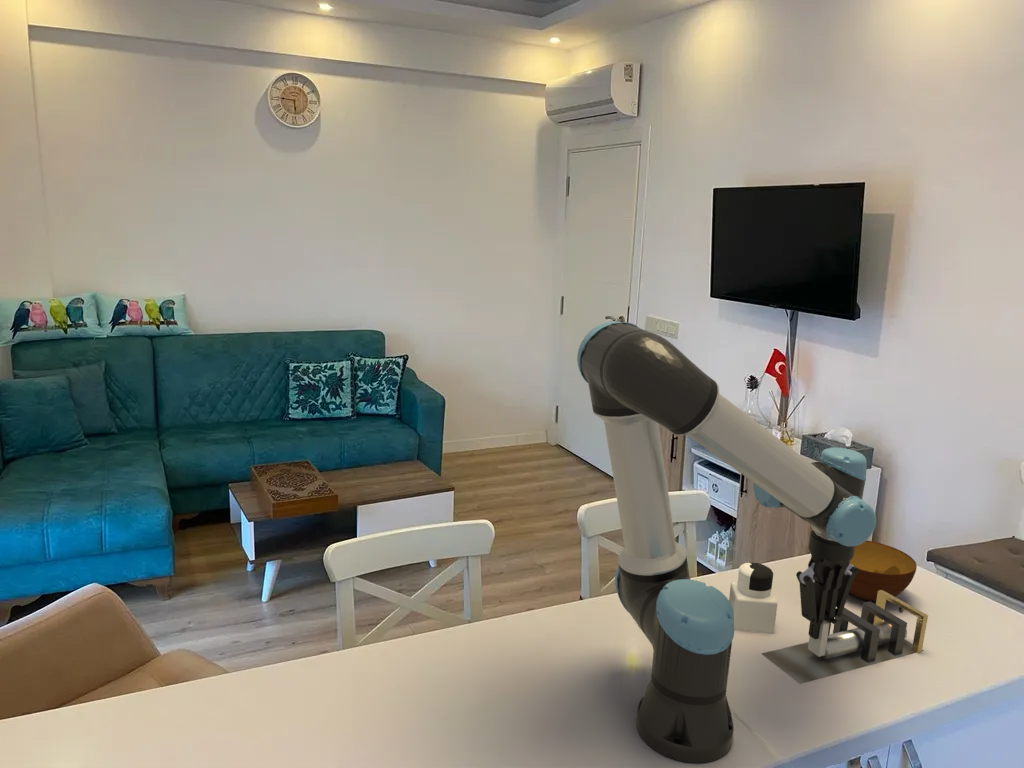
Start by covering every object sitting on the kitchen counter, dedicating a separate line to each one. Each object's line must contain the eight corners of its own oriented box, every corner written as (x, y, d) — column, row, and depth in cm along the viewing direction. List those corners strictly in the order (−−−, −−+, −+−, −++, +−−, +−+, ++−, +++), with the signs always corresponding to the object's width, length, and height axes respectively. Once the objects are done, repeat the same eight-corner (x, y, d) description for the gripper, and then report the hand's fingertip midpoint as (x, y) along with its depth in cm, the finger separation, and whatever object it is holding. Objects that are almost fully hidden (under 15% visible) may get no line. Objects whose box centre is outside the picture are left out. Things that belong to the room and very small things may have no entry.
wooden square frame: (917, 653, 142) (923, 616, 141) (872, 625, 152) (877, 590, 150) (921, 652, 143) (928, 615, 141) (876, 624, 152) (882, 589, 150)
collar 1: (867, 662, 139) (872, 631, 137) (831, 639, 146) (836, 608, 145) (875, 660, 139) (880, 629, 138) (839, 637, 147) (844, 607, 146)
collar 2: (894, 655, 141) (899, 624, 140) (858, 632, 149) (862, 603, 147) (902, 653, 142) (907, 622, 141) (865, 630, 150) (870, 601, 148)
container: (764, 617, 155) (771, 560, 152) (773, 638, 148) (781, 577, 145) (726, 614, 156) (733, 557, 153) (733, 634, 148) (740, 574, 146)
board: (799, 689, 131) (799, 684, 131) (760, 658, 140) (760, 653, 140) (923, 655, 144) (924, 650, 143) (880, 629, 152) (880, 624, 152)
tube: (827, 665, 138) (831, 645, 137) (810, 651, 141) (814, 632, 140) (904, 644, 145) (909, 626, 144) (887, 632, 149) (891, 614, 148)
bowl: (912, 593, 168) (919, 552, 166) (905, 627, 154) (913, 582, 151) (829, 571, 177) (835, 532, 175) (815, 602, 163) (821, 559, 160)
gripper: (821, 547, 128) (804, 670, 133) (877, 537, 133) (858, 656, 138) (790, 530, 134) (774, 647, 140) (843, 521, 140) (827, 635, 145)
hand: (816, 651), depth 139 cm, fingers closed
